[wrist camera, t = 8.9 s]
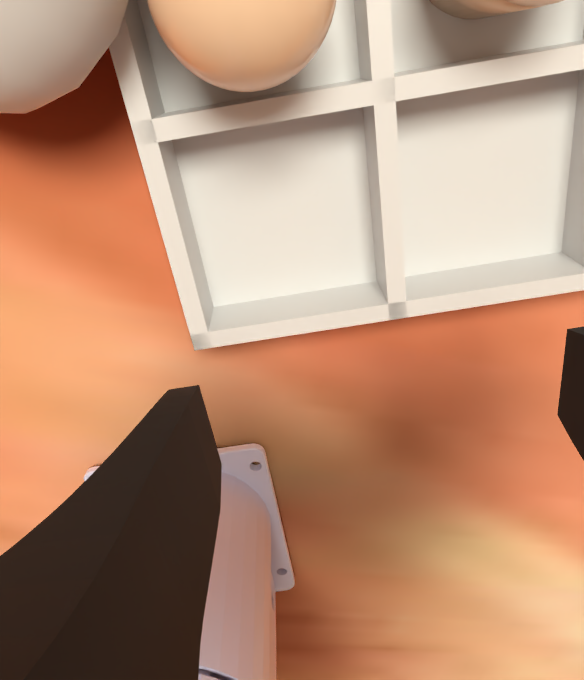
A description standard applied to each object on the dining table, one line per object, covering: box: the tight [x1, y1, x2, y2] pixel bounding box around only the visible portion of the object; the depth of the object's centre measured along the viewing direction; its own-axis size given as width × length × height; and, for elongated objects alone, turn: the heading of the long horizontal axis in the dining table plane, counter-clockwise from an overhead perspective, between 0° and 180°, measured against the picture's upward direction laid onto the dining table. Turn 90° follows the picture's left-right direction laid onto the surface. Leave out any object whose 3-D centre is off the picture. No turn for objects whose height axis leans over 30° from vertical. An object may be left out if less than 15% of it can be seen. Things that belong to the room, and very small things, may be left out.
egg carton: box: [109, 0, 584, 350], centre depth 15 cm, size 14×20×2 cm
